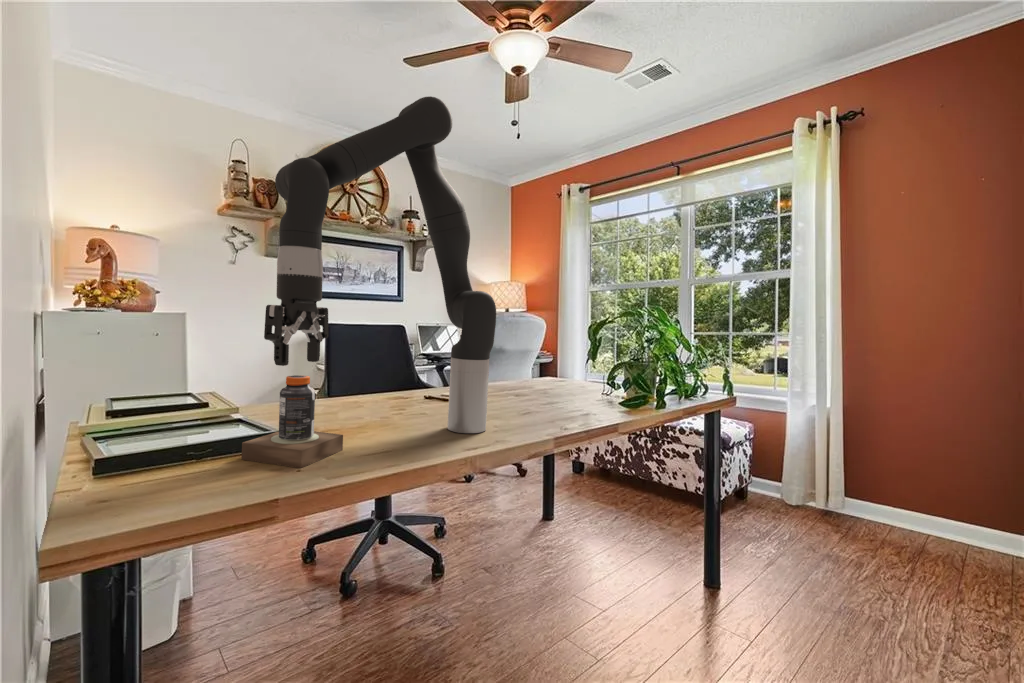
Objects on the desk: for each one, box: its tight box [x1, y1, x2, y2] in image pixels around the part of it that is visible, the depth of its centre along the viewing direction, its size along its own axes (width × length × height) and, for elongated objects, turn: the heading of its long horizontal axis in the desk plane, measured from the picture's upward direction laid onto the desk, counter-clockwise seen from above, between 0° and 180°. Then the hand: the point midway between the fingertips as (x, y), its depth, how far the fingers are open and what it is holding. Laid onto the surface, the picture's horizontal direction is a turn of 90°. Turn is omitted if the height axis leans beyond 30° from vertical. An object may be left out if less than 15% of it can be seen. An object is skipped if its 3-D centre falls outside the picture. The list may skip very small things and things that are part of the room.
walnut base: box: [241, 430, 344, 469], centre depth 87 cm, size 12×12×3 cm
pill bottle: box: [278, 375, 316, 440], centre depth 87 cm, size 6×6×11 cm
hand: (298, 363), depth 86 cm, fingers open, 8 cm apart
